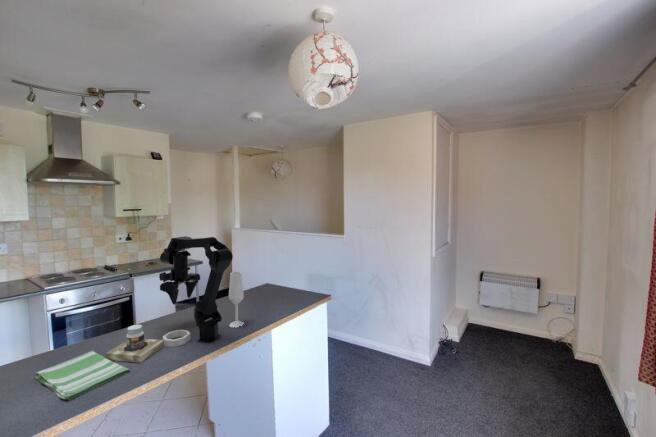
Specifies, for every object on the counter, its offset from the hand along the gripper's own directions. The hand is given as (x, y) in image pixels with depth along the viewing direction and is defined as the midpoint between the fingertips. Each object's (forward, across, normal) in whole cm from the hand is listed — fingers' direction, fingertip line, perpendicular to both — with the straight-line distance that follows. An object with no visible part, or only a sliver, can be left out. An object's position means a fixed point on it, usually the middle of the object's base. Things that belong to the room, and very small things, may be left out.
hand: (181, 300), depth 135 cm
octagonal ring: (+13, +10, +5) cm, 17 cm away
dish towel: (+14, +38, -8) cm, 41 cm away
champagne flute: (+13, -11, +20) cm, 26 cm away
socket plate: (+13, +21, -3) cm, 25 cm away
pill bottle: (+13, +21, -4) cm, 25 cm away
